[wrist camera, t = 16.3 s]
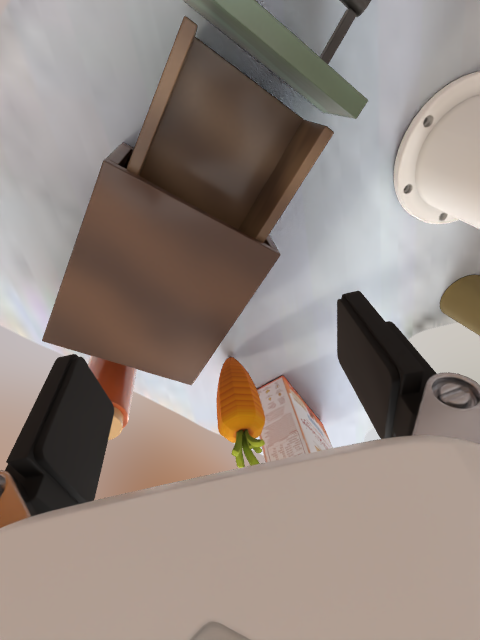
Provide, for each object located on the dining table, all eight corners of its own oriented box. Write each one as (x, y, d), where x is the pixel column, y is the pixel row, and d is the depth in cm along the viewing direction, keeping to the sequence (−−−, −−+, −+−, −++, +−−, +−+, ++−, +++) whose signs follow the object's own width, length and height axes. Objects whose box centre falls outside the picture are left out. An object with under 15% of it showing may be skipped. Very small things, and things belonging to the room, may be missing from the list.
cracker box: (324, 420, 52) (391, 579, 36) (291, 436, 54) (341, 597, 37) (285, 371, 45) (347, 544, 28) (247, 391, 46) (285, 568, 29)
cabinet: (122, 141, 27) (103, 160, 20) (261, 220, 32) (281, 254, 25) (69, 291, 33) (41, 341, 27) (190, 335, 39) (191, 385, 32)
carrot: (206, 348, 40) (216, 460, 28) (245, 338, 40) (272, 447, 28) (216, 376, 43) (228, 488, 31) (252, 367, 43) (279, 475, 31)
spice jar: (146, 340, 38) (135, 416, 30) (130, 369, 41) (116, 448, 32) (102, 325, 36) (77, 403, 28) (88, 356, 39) (60, 437, 30)
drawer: (226, -118, 19) (242, -192, 14) (373, 30, 24) (424, 16, 19) (114, 185, 28) (99, 208, 22) (239, 249, 32) (250, 279, 27)
